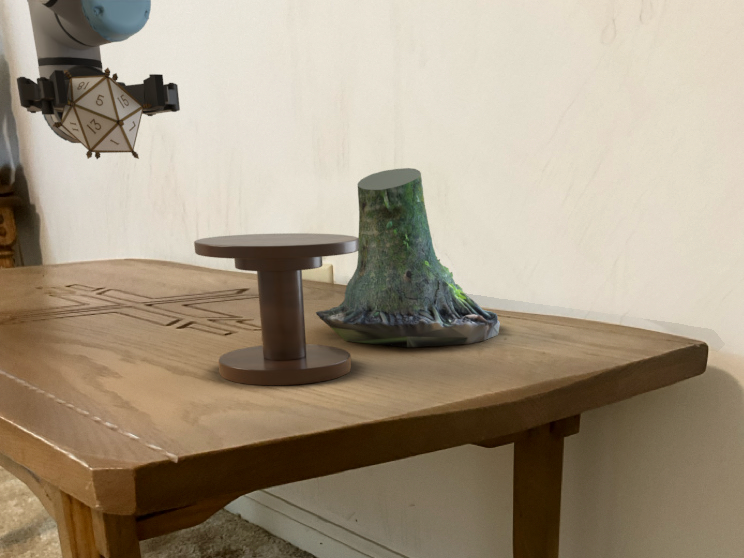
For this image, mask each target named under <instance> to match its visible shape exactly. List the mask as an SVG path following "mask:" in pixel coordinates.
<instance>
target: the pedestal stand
mask: <svg viewBox="0 0 744 558" xmlns="http://www.w3.org/2000/svg"><path fill="white" fill-rule="evenodd" d="M193 245H194V246H193V247H194V253H195V254H196V255H197V256H201V257H207V258H216V259H233V260H234V268H235V269H236V270H241V271H248V272H256V278H257V292H258V304H259V317H260V329H261V343H262V345H255V346H248V347H244V348H243V347H242V348H238V349H234V350H231V351H228V352H226V353H223V354H221V355H220V356H219V358H218V368H219V369H218V370H219V375H220V376H221V377H222V378H223V379H225V380H228V381H231V382H234V383H238V384H244V385H245V384H246V385H254V386H295V385H306V384H315V383H320V382H326V381H330V380H331V381H332V380H335V379H338V378H340V377H343V376H345V375H347V374H348V373H349V372H350V371H351V369H352V361H351V360H352V359H351V352H349V351H348V350H345V349H343V348H341V347H337V346H331V345H327V344H326V345H325V344H316V343H315V344H314V343H307V341H306V340H307V338H306V323H305V322H306V321H305V306H304V305H305V303H304V288H303V287H304V285H303V271H308V270H313V269H314V270H315V269H319V268H321V267H323V264H324V263H323V257H324V258H325V257H333V256H341V255H348V254H353V253H356V252H358V250H359V238H358V237H357V236H354V235H346V234H337V233H308V232H307V233H305V232H304V233H302V232H301V233H299V232H298V233H292V232H291V233H289V232H288V233H252V234H233V235H219V236H211V237H203V238H198V239H196V240H194V241H193Z"/></svg>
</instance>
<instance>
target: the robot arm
mask: <svg viewBox="0 0 744 558" xmlns="http://www.w3.org/2000/svg"><path fill="white" fill-rule="evenodd" d="M26 2H27V5H28V9H29V16H30V21H31V28H32V35H33V40H34V46H35V52H36V58H37V65H38V67H37V69H38V74H39V77H37V78H36V82H35V81H33V80H32V79H31V78H28V77H26V76H19V77H17V78H15V79H16V84H17V90H18V97H19V103H20V107H22V108H25V109H26V112H28V113H29V112H30V113H31V114H37V113H39V112H41V115H42V116H43V118H44V121H45V122H46V123H47V126H48V127H49V129H50V130H51V131H52V132H53V133H54V135H56V136H57V137H58V138H60V139H63V140H64V141H68V142H69V143H71V144H81V143H80V142H79V141H78V140H77V139H76V138H75V137H74V136H73V135H71V134H70V133H69V132H68V131H67V130H66V129H65V128H64V127H63V126H61V127H60V128H59V127H58V128H56V127H54V126H53V124H54V123H55V122H61V119H62V114H63V109H64V106H65V105H67V104H68V100H67V90H68V85H69V80H70V79H69V78H67V76H66V75H65V73H64V70H66V71H69V73H71V76H72V77H82V76H102V75H105V74H104V72H105V71H104V70H103V69H104V67H103V62H102V55H101V46H104V45H107V44H112V43H119V42H124V41H127V40H128V39H129V38H130V37H132V36H134V35H135V34H137V33H139V32H140V31H142V30H143V29H144V27H145V26H146V24H147V23H148V21H149V19H150V13H151V8H152V0H26ZM148 76H149V77H147V78H145V79H143V80H142V81H143V83H137V84H126V83H125V82H123V81H116V82H117V83H119V84H120V85H121V86H122V87H123V88H124V89H125V90H126V91H127V92H128V93H130V94H131V95H132V96H133V97H134V98H135V99H136V100H137V101H138V102H139V103H141V104H142V105H144V103H145V104H146V103H148V104H151V105H152V106H151V107H150V108H149V109H148V108H147V109H145V108H144V109H143V112H142V115H146V116H147V117H153V116H155V115H157V114H163V113H171V112H172V113H177V112H179V111H181V109H180V98H179V86H178V84H177V83H175V82H168V83H164V76H163V74H157V73H155V74H154V73H149V75H148Z"/></svg>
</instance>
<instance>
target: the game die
mask: <svg viewBox="0 0 744 558" xmlns="http://www.w3.org/2000/svg"><path fill="white" fill-rule="evenodd" d="M103 72H104V74H105V75H102V76H82V77H72V76H71V73H69V71H66V70H64V73H65V75H66V76H67V78H69V79H70V80H69V85H68V90H67V100H68V104H67V105H65V106H64V109H63V114H62V119H61V122H55V123H54V124H53V126H54V127H56V128H58V127H59V128H60V127H61V126H63V127H64V128H65V129H66V130H67V131H68V132H69V133H70V134H71V135H73V136H74V137H75V138H76V139H77V140H78V141H79V142H80V143H79V144H81V145H82V146H83V147H84V148H85V149H86V150H87V151H86V153H85V156H86V158H87V160H88V159H90V158H92V157H93V153H94V158H95V159H96V160H98V159H100V158H101V154H106V153H107V154H108V153H109V154H113V153H115V154H117V153H131V156H133V158H135V159H138V160H139V159H140V157H139V153H137V151H135V145H136V141H137V137H138V133H139V128H140V125H141V122H142V121H141V120H142V115H143V114H142V112H143V109H144V108H145V109H147V108H148V109H149V108H150V107H151V106H152V105H151V104H148V103H146V104H145V103H144V105H142V104H141V103H139V102H138V101H137V100H136V99H135V98H134V97H133V96H132V95H131V94H130V93H128V92H127V91H126V90H125V89H124V88H123V87H122V86H121V85H120V84H119V83H117V82H118V79H119V76H118V73H117V72H115V73H113V74H112V77H111V70H110V68H109V67H107V68H105V69H104V70H103Z"/></svg>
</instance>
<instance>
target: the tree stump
mask: <svg viewBox="0 0 744 558" xmlns="http://www.w3.org/2000/svg"><path fill="white" fill-rule="evenodd" d="M357 197H358V237H357V238H359V250H358V251H357V262H356V268H355V271H354V272H353V274H352V276H351V278H350V279H349V281H348V282H347V285H346V288H345V291H344V299H343V301H342V302H341V303H340V304H339V305H338V306H334V307H331V308H328V309H325V310H317V311H316V312H315V314H316V316H317V317H318V318H319V319H320V320H321V321H323V323H325V324H326V325H327V326H328V327H329V328H331V329H332V330H333V331H334V332H335V333H336V334H337V335H339V337H341V338H342V339H343V340H344V341H345V342H352V343H361V344H371V345H381V346H390V347H399V348H401V347H402V348H423V347H440V346H455V345H468V344H473V343H478V342H484V341H486V340H489V339H491V338H494V337H496V336H498V335H499V330H500V327H501V323H500V320H498V319H499V317H498V315H497V313H495V312H493V311H490V310H485V309H483V308H482V307H481V306H480V305H479V304H478V303H476V302H475V301H474V299H472V298H471V297H470V296H468V295H467V294H466V292H464V291H463V288H462V287H461V286H460V284H457V283H456V281H455V280H454V278H453V277H454V274H453V271H450V268H448V267H447V266H445V265H443V264H442V262H440V261H441V259H438V256H437V255H436V250H435V248H434V243H433V238H432V234H431V229H430V224H429V219H428V214H427V209H426V204H425V196H424V186H423V179H422V172H421V171H420V170H418V169H416V168H409V167H405V168H394V169H393V168H392V169H386V170H381V171H377V172H374V173H371V174H368V175H367V176H365V177H363V178H361V179H360V180H359V181H358V182H357Z"/></svg>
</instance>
